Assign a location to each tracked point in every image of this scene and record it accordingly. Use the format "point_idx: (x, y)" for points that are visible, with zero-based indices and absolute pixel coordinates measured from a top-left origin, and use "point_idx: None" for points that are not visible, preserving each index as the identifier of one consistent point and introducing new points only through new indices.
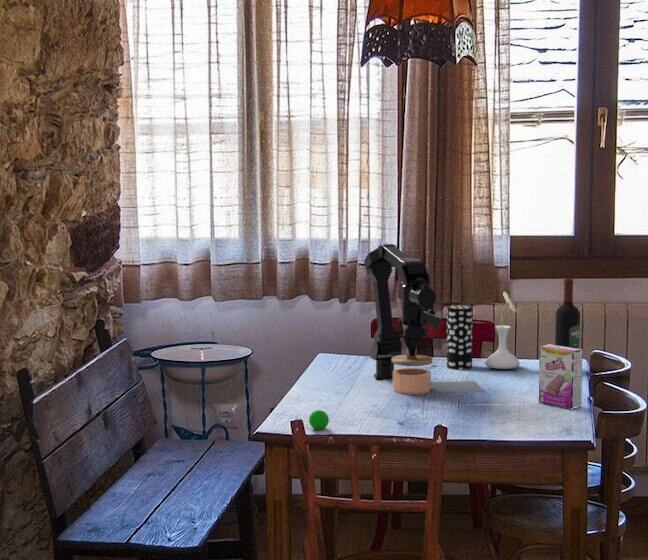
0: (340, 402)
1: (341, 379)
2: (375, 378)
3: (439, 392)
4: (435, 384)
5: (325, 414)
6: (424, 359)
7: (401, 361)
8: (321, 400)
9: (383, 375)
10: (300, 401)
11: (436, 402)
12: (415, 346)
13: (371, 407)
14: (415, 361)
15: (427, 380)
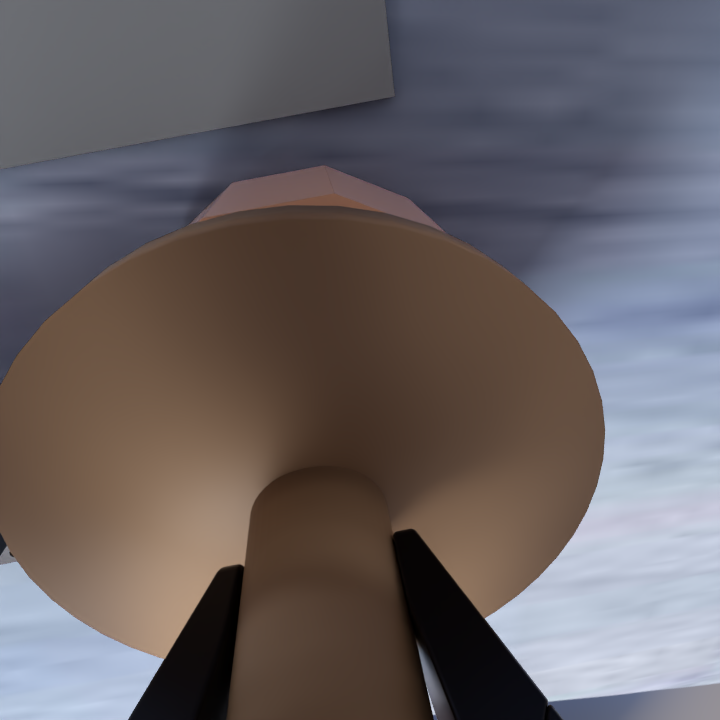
0: (570, 586)
1: (98, 663)
2: (12, 556)
3: (390, 70)
4: (41, 118)
5: None
6: (379, 354)
7: (506, 580)
8: (525, 639)
9: (2, 540)
10: (532, 679)
11: (693, 100)
12: (543, 705)
13: (695, 474)
14: (526, 456)
15: (422, 216)
